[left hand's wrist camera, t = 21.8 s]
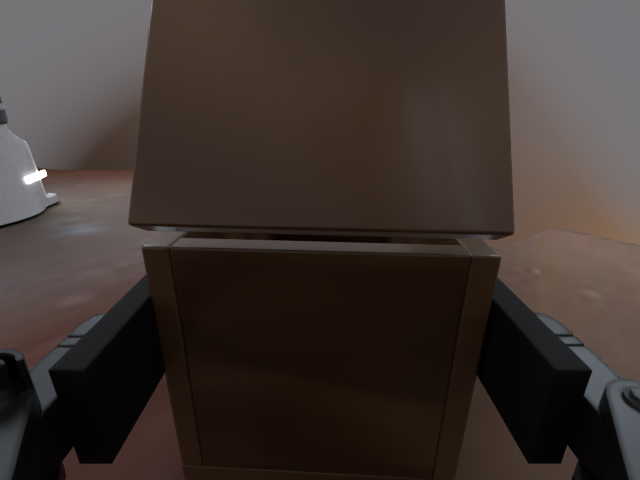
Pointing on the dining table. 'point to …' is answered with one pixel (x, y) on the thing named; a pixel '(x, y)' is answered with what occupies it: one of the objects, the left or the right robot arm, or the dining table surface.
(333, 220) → the lid
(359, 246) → the chest
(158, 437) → the dining table surface
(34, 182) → the right robot arm
